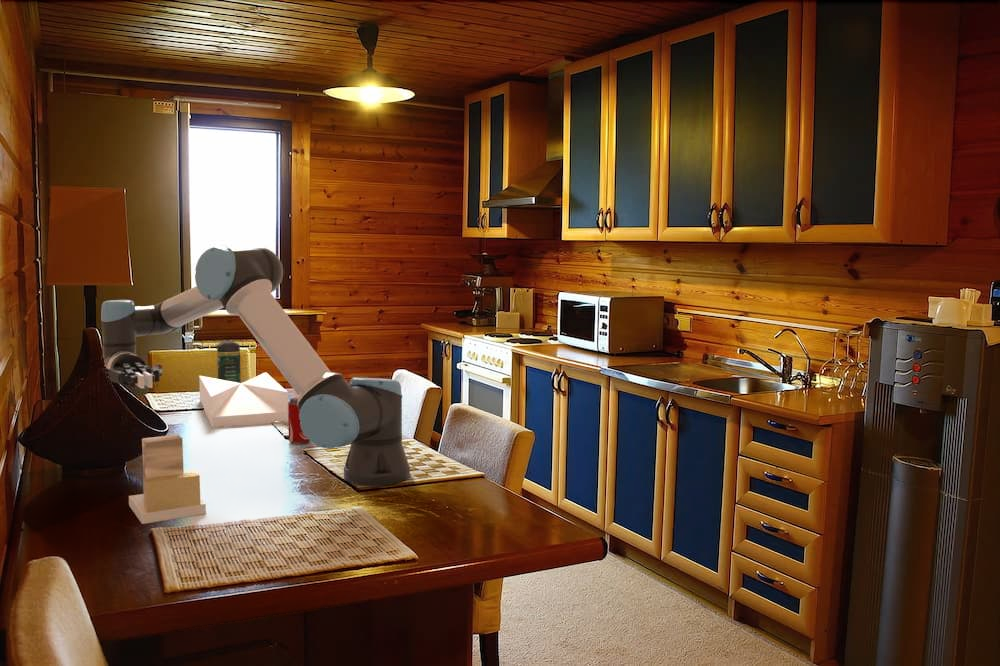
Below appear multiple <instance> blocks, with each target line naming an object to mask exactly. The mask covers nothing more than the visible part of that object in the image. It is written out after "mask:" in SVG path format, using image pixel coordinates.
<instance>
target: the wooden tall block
mask: <svg viewBox="0 0 1000 666" xmlns="http://www.w3.org/2000/svg"><path fill="white" fill-rule="evenodd" d="M183 444H184V443H183V437H181V435H179V434H171V435H162V436H161V435H160V436H154V437H143V438H141V448H142V449H141V450H142V452H141V453H142V474H143V479H147V478H154V477H162V476H169V475H176V474H184V473H185V472H184V471H185V470H184V446H183Z"/></svg>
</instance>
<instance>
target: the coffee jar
mask: <svg viewBox="0 0 1000 666" xmlns="http://www.w3.org/2000/svg"><path fill="white" fill-rule="evenodd" d="M240 347H241V346H240V344H239V343H237V342H236V341H233V340H223V341H220V342H219V343H218V344H217V345H216V357H217V358H216V359H217V360H216V361H217V379H221V380H226V381H232V382H237V383H242V381H241V380H242V379H241V348H240Z"/></svg>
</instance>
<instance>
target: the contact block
mask: <svg viewBox="0 0 1000 666" xmlns="http://www.w3.org/2000/svg"><path fill="white" fill-rule="evenodd" d="M200 479H201V478H200V474H199V473H198V472H196V471H192V472H186V473H185V472H184V474H176V475H169V476H162V477H154V478H147V479H144V478H143V479H142V488H143V494H144V509H145V511H146V512H147V513H151V512H157V511H163V510H170V509H176V508H183V507H189V506H196V505H201V503H200V499H201V482H200V481H201V480H200Z"/></svg>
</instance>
